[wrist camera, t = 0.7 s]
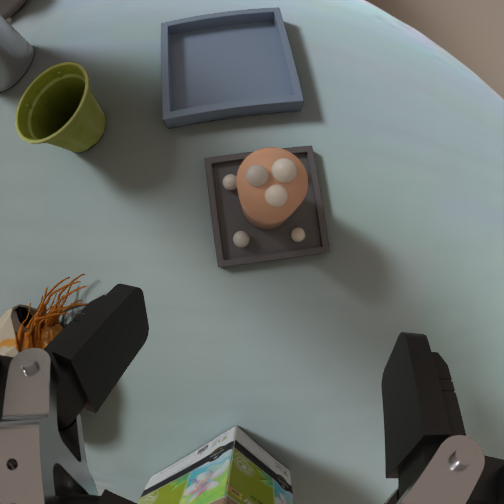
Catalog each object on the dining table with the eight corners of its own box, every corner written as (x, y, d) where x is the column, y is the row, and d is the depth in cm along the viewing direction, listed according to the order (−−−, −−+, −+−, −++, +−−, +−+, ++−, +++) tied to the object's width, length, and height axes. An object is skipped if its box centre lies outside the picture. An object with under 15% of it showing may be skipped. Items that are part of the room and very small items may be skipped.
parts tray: (219, 267, 32) (217, 267, 30) (206, 162, 32) (203, 155, 30) (326, 252, 32) (331, 251, 30) (309, 149, 32) (313, 142, 30)
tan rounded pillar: (244, 233, 32) (240, 219, 21) (238, 184, 32) (231, 147, 21) (294, 226, 32) (316, 209, 21) (287, 177, 32) (303, 139, 21)
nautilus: (61, 240, 33) (151, 327, 33) (-7, 360, 31) (67, 437, 32) (24, 235, 25) (131, 344, 26) (-41, 374, 23) (42, 465, 24)
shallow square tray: (168, 128, 33) (162, 119, 30) (165, 34, 33) (161, 23, 30) (300, 110, 33) (303, 100, 30) (277, 19, 33) (279, 7, 30)
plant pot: (69, 95, 33) (35, 65, 24) (129, 96, 33) (101, 58, 24) (46, 162, 33) (4, 142, 24) (105, 169, 32) (67, 145, 24)
